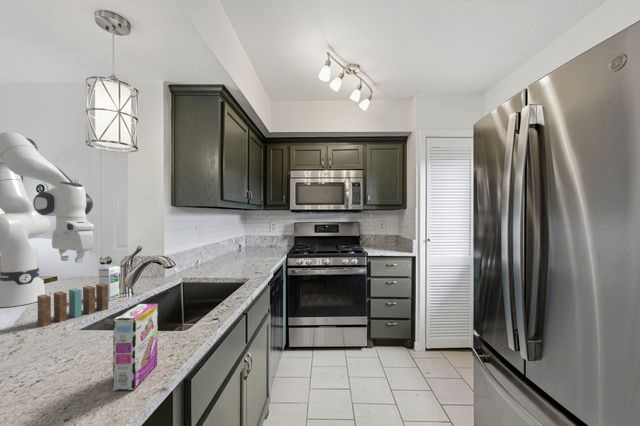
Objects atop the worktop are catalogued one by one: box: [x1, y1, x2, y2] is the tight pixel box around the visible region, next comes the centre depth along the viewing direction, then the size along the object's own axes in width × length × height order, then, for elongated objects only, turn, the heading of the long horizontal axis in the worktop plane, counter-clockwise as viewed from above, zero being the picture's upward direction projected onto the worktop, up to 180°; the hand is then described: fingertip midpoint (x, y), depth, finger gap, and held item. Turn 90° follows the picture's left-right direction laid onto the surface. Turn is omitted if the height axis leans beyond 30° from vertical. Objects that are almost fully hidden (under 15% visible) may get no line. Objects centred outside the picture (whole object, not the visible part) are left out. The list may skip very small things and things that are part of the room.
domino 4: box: [82, 285, 96, 315], centre depth 115 cm, size 2×5×10 cm, turn 61°
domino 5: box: [95, 283, 109, 312], centre depth 119 cm, size 2×5×10 cm, turn 61°
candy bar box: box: [112, 303, 159, 392], centre depth 70 cm, size 11×5×16 cm, turn 5°
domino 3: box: [68, 288, 83, 319], centre depth 111 cm, size 2×5×10 cm, turn 61°
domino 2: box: [53, 290, 68, 323], centre depth 107 cm, size 2×5×10 cm, turn 61°
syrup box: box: [98, 265, 122, 301], centre depth 133 cm, size 6×6×14 cm
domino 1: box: [37, 293, 52, 327], centre depth 103 cm, size 2×5×10 cm, turn 61°
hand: (71, 261), depth 110 cm, fingers open, 8 cm apart
